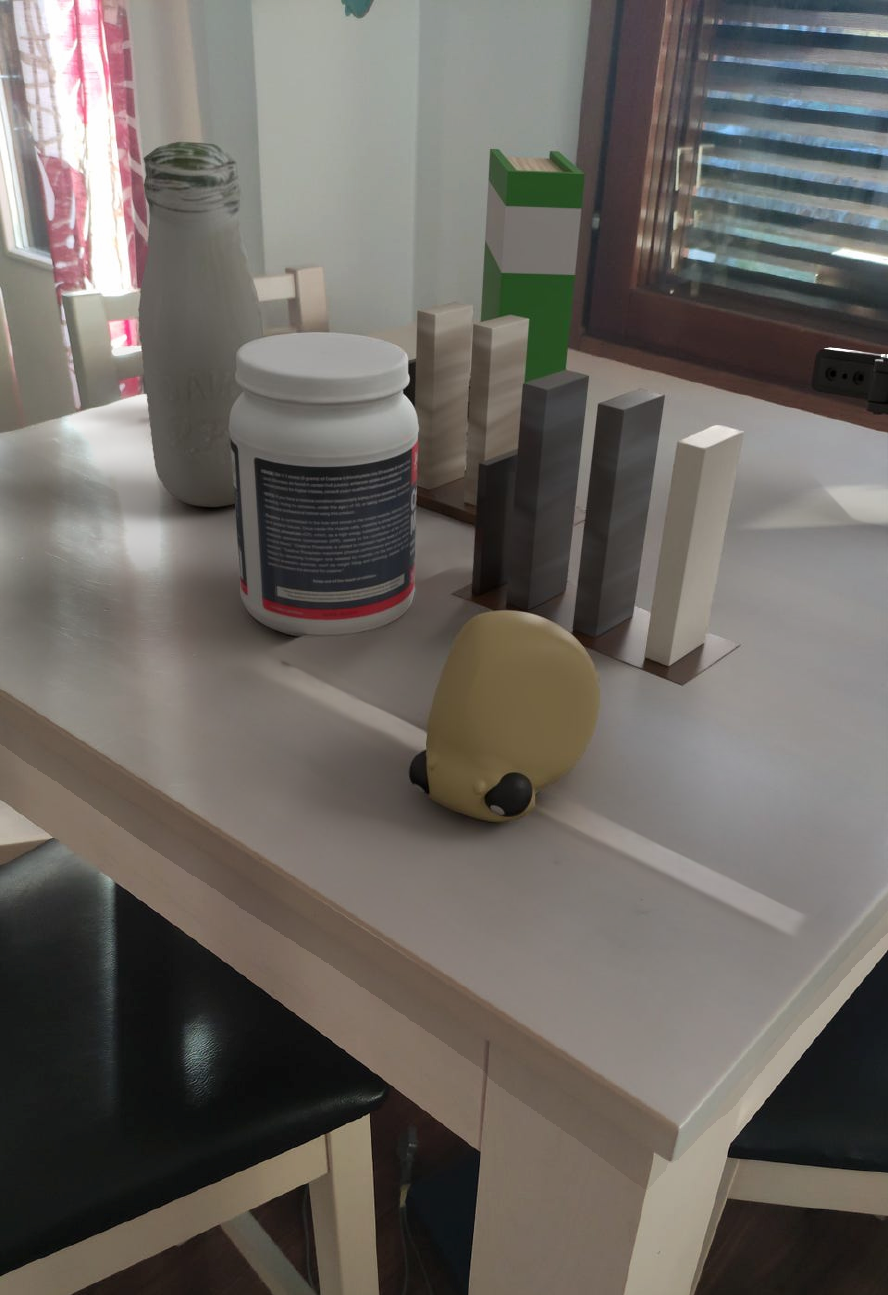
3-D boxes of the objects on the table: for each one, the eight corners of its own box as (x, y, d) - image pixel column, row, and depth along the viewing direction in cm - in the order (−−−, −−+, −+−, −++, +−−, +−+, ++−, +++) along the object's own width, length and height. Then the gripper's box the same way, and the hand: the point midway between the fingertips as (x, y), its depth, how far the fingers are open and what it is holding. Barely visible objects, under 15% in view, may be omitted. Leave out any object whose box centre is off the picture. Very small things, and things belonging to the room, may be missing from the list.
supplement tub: (450, 611, 87) (462, 358, 76) (317, 666, 79) (311, 393, 69) (336, 557, 94) (333, 319, 84) (205, 603, 86) (183, 346, 76)
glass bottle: (158, 526, 98) (118, 149, 82) (157, 483, 106) (120, 132, 90) (276, 521, 100) (259, 151, 84) (266, 479, 108) (249, 135, 92)
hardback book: (477, 376, 139) (490, 148, 125) (539, 378, 139) (558, 151, 126) (491, 423, 124) (507, 171, 111) (560, 424, 125) (584, 174, 111)
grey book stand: (738, 657, 83) (787, 417, 73) (680, 698, 78) (725, 446, 68) (514, 573, 93) (532, 353, 83) (450, 605, 88) (461, 374, 78)
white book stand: (598, 524, 102) (620, 334, 93) (544, 550, 97) (563, 351, 88) (426, 467, 112) (431, 291, 103) (369, 487, 107) (369, 304, 98)
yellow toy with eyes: (430, 806, 73) (348, 766, 63) (502, 629, 73) (432, 563, 64) (569, 860, 68) (503, 825, 59) (645, 671, 69) (592, 607, 59)
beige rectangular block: (705, 642, 82) (744, 431, 74) (668, 667, 79) (705, 449, 70) (680, 633, 83) (716, 423, 75) (643, 657, 80) (676, 441, 71)
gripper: (1238, 310, 58) (929, 282, 68) (1138, 332, 49) (800, 297, 60) (1189, 462, 62) (902, 414, 72) (1087, 507, 53) (777, 446, 63)
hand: (856, 361), depth 66 cm, fingers open, 8 cm apart
